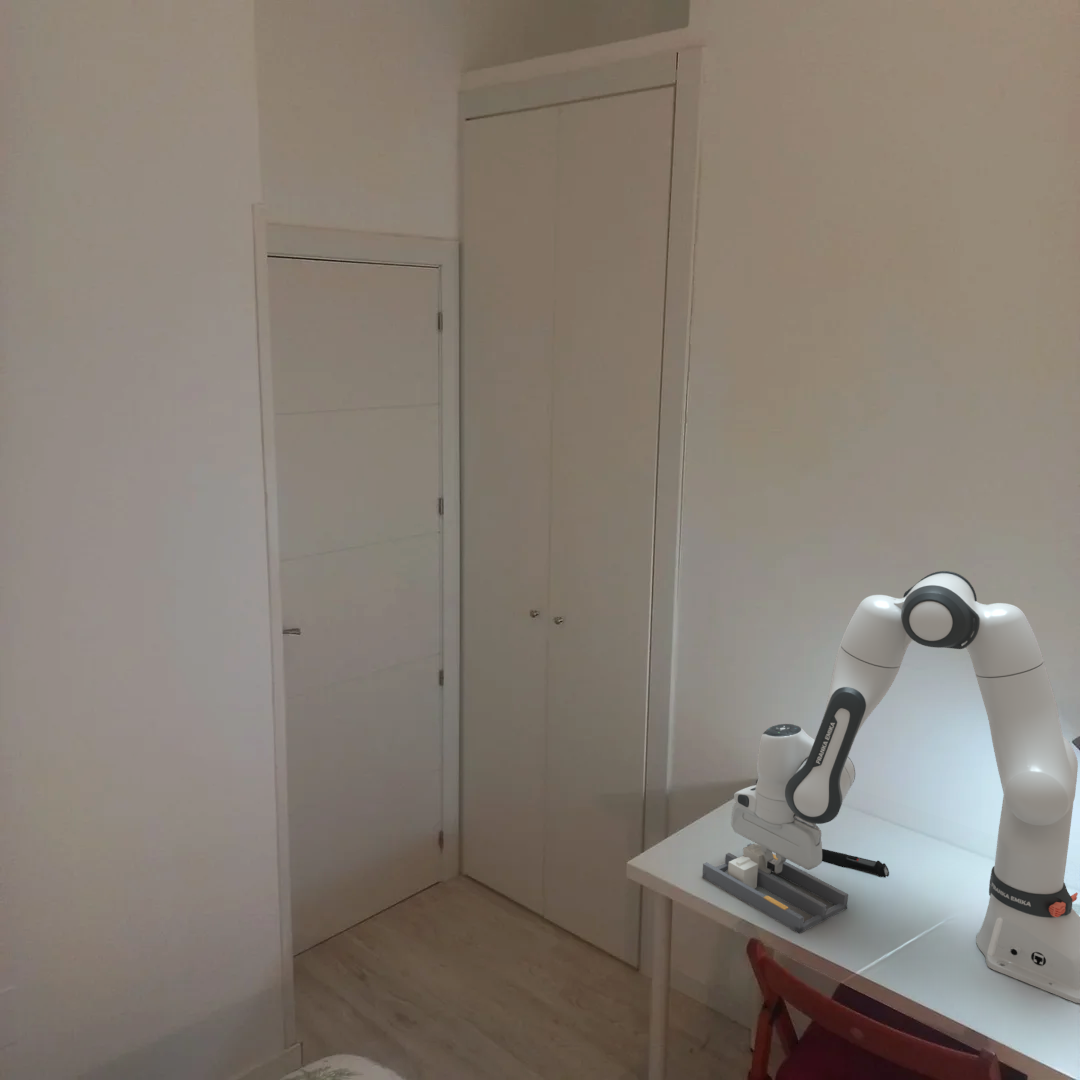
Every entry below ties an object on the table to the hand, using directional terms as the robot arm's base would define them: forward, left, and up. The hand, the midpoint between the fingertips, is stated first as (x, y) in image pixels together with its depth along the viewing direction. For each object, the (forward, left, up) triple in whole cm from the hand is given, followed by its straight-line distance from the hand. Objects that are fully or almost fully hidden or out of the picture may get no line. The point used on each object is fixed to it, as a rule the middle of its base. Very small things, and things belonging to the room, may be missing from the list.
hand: (773, 869), depth 203 cm
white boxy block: (+2, +6, -2) cm, 7 cm away
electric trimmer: (-5, -18, -4) cm, 19 cm away
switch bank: (-3, +3, -3) cm, 5 cm away
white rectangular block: (+4, 0, -2) cm, 5 cm away
